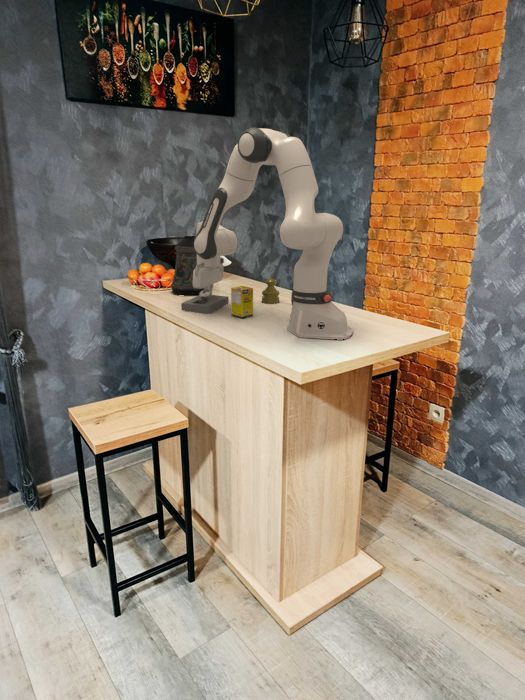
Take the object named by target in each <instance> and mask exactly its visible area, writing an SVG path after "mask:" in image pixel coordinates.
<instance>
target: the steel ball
mask: <svg viewBox="0 0 525 700" xmlns="http://www.w3.org/2000/svg"><path fill="white" fill-rule="evenodd" d="M198 296H200V298H201V299H202V300H207V299H208V298H209V292H208V291H206V290H203V291H201V292H200V294H199V295H198Z"/></svg>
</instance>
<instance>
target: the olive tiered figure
mask: <svg viewBox="0 0 525 700" xmlns="http://www.w3.org/2000/svg"><path fill="white" fill-rule="evenodd" d="M264 283H265V284H266V285H267V287H266V288H265V289H263V290H262V291H261V295H262V296H261V302H262V303H263V304H267V303H268V305H269V304H270V305H272V304H274V303H275V304H279V302H280V296H279V295H280V291H279V290H277V288H275V285H276V284H277V283H278V282H277V280H276V279H274V278H273V277H271V278H270V277H269V278H268V279H266V280H264Z"/></svg>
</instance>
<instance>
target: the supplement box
mask: <svg viewBox="0 0 525 700" xmlns="http://www.w3.org/2000/svg"><path fill="white" fill-rule="evenodd" d="M230 291H231V293H230V294H231V295H230V296H231V297H230V298H231V301H230V303H231V307H230V309H231V317H235V318H238V319H241V320H242V319H243V320H244V319H247V318H250V317H253V316H254V288H253V287H249V286H245V285H240V286H234V287H231V288H230Z"/></svg>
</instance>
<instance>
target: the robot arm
mask: <svg viewBox="0 0 525 700" xmlns="http://www.w3.org/2000/svg"><path fill="white" fill-rule="evenodd" d="M263 165H265V166H275V167H276V169H277V173H278V178H279V182H280V185H281V188H282V191H283V192H282V193H283V196H284V201H285V202H284V203H285V215H284V220H283V221H282V223H281V224H280V227H279V238H280V241H281V242H282V244H283V245H284V246H285V247H287V248H288V249H292V250H300V251H302V253H301V255H300V258H299V259H298V261H297V262H296V263H295V264H294V268H293V284H292V285H293V288H292V290H291V295H290V296H291V299H290V300H291V301H290V302H291V312H290V318H289V322H288V325H287V329H286V330H287V331H288V332H289V333H291V334H294V336H296V337H297V338H305V339H309V338H310V339H321V340H322V339H324V340H334V339H337V341H338V340H339V341H343V339H344V340H348V339H349V338H351V337H352V336H353V334H354V329H353V327H352V326H348V321H347V316H346V314H345V312H344V311H342V310H341V309H340V308H339V307H338V306H337V305H335V303H333V302H332V299H333V297H332V296H333V292H332V291H331V292H330V291H329V290H328V289H327V285H328V283H327V282H328V270H329V265H330V261H331V258H332V254H333V252H334V249H335V247H336V245H337V243H338V242H339V241H340V240H341V238H342V237H343V235H344V234H343V233H344V225H343V222H342V219H340V217H338V216H337V215H335V214H331V213H328V212H316V210H315V199H316V198H317V196H318V194H319V187H318V182H317V179H316V175H315V171H314V168H313V164H312V161H311V159H310V155H309V154H308V150H307V149H306V146H305V145H304V143H303V140H301V139H300V138H298V137H297V136H291V135H290V134H288V133H287V132H284V131H278V130H273V129H272V128H262V127H259V128H258V127H250V128H246V129H245V130H243V131H242V132H241V133H240V135H239V136H238V139H237V143H236V145H235V146H234V148H233V150H232V152H231V155H230V157H229V159H228V163H227V167H226V170H225V173H224V177H223V179H222V180H221V183H220V185H219V186H218V187H217V188H216V190H215V191H214V193H213V194H212V197H211V199H210V202H209V205H208V207H207V210H206V212H205V214H204V218H203V219H202V220H200V221H199V222H198V223H197V225H196V231H195V232H196V233H195V235H194V236H195V239H194V249H195V251H196V253H197V265H196V268H195V269H194V271H193V287H194V288H197V289H201V288H204V290H206V291H208V292H209V296H210V295H213V289H214V284H216V283H219V282H220V281H222V280H223V278H224V263H225V259H224V256H230V255H232V254H235V253H236V252H237V250H238V248H239V238H238V236H237V233H235V232H234V231H233V230H231V229H228V228H226V227H224V226H222V225H221V223H222V220H223V216H224V215H225V213H226V212H227V211H228V210H229V209H230V208H232V207H234V206H235V205H237V204H239V203H241V202H244V201H246V200H247V199H248V198H249V197H250V196H251V195H252V193H253V190H254V189H255V185H256V181H257V178H258V174H259V171H260V168H261V167H262V166H263ZM351 335H352V336H351ZM350 336H351V337H350Z"/></svg>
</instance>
